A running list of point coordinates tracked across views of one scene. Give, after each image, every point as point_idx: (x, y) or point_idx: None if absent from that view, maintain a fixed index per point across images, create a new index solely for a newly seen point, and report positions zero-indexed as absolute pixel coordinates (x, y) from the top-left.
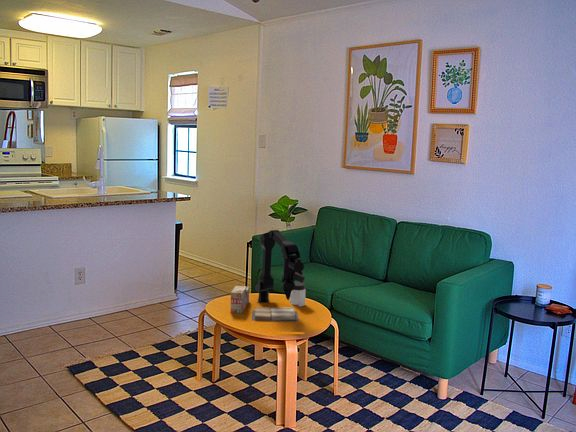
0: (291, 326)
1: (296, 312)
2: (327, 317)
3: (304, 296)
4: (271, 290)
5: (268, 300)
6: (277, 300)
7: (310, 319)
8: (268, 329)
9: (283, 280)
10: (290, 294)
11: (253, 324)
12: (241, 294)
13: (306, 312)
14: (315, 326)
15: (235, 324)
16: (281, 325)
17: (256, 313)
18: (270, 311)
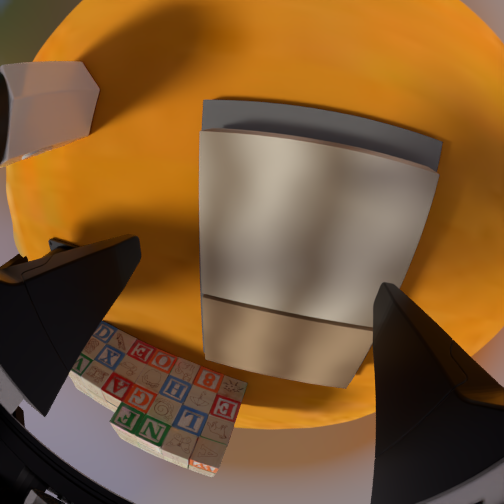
0: (470, 209)
1: (230, 107)
2: None
3: (41, 65)
4: (25, 261)
5: (63, 248)
6: (46, 202)
7: (356, 30)
8: (458, 329)
9: (16, 389)
10: (449, 337)
11: None
12: (220, 463)
13: (195, 37)
14: (484, 60)
15: (353, 411)
16: (440, 262)
17: (306, 378)
18: (280, 315)
